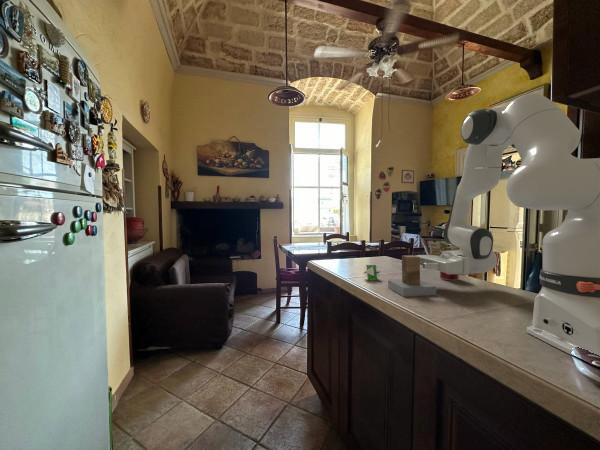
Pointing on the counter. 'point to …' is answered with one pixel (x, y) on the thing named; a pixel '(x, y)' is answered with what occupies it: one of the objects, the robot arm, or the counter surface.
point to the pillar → (411, 269)
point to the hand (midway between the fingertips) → (416, 263)
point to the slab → (412, 288)
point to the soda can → (448, 275)
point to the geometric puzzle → (371, 272)
